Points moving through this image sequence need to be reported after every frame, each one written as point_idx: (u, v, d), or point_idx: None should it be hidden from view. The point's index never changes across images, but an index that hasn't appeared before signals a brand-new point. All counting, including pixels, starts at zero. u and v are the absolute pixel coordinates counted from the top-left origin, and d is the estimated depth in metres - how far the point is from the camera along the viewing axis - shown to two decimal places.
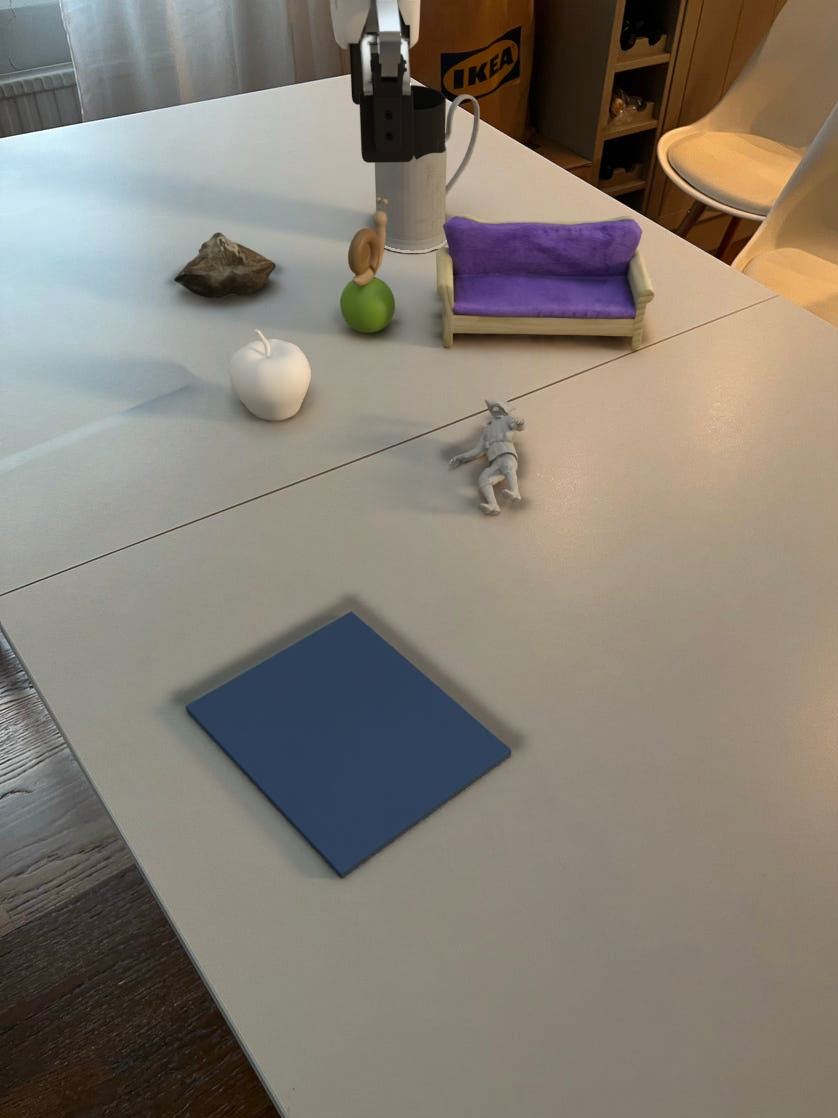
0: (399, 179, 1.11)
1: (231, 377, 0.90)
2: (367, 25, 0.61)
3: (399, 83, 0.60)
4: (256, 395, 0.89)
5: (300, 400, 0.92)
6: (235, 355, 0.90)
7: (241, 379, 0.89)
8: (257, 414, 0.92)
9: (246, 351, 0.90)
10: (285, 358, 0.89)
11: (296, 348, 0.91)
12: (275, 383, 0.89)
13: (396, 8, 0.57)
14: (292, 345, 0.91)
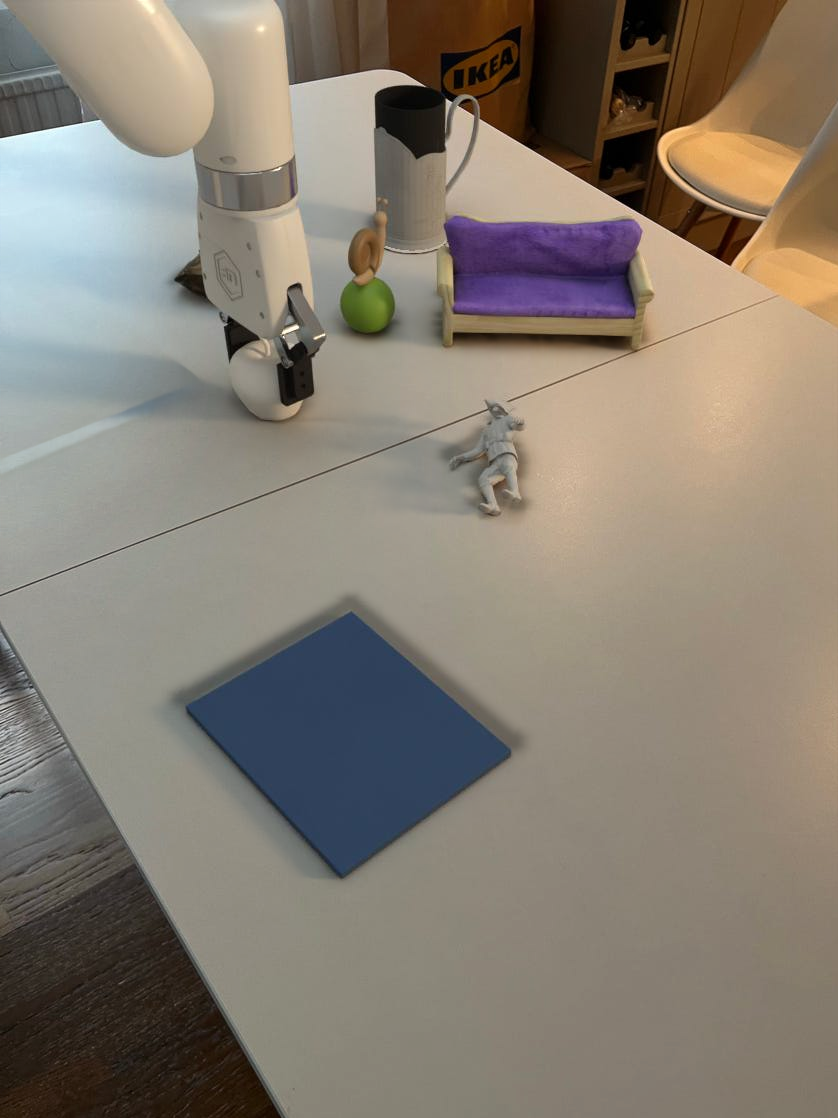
0: (399, 179, 1.11)
1: (231, 377, 0.90)
2: None
3: (313, 354, 0.86)
4: (256, 395, 0.89)
5: None
6: (235, 355, 0.90)
7: (241, 379, 0.89)
8: (257, 414, 0.92)
9: (246, 351, 0.90)
10: None
11: None
12: (275, 383, 0.89)
13: (315, 317, 0.83)
14: (292, 345, 0.91)
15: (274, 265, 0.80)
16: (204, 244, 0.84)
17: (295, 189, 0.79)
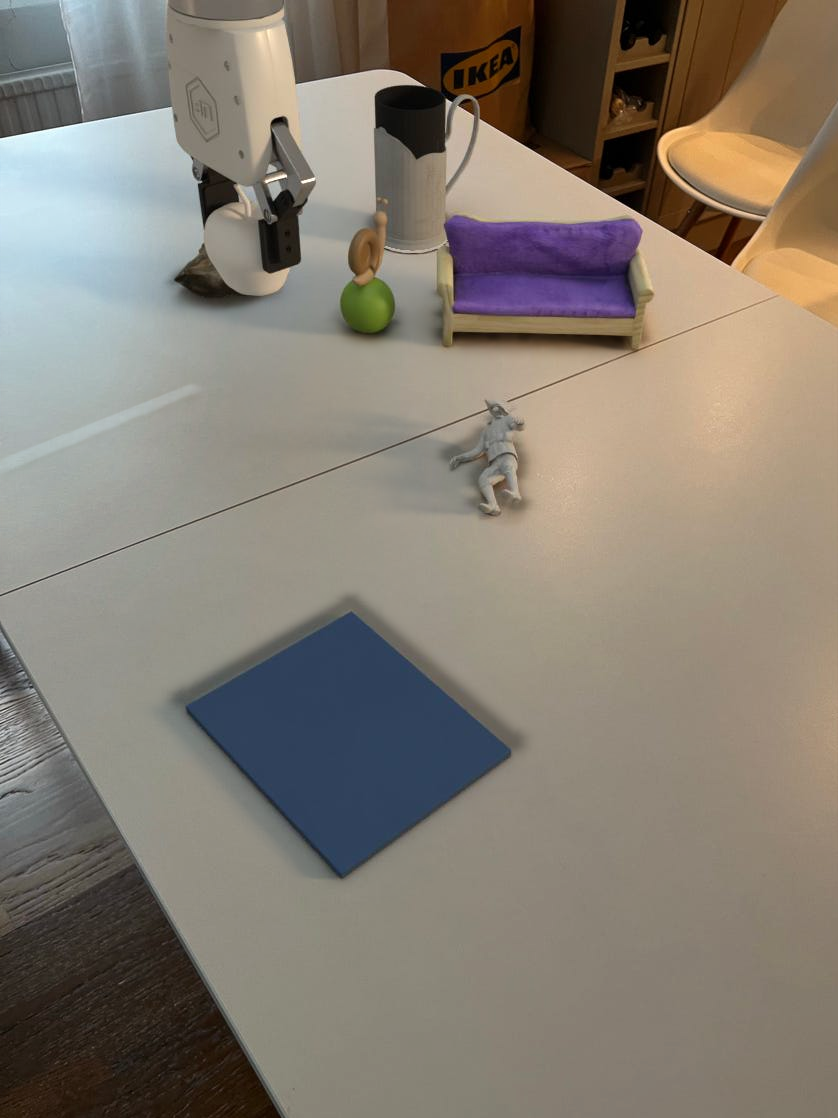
0: (399, 179, 1.11)
1: (206, 241, 0.79)
2: None
3: (300, 208, 0.75)
4: (235, 261, 0.78)
5: (285, 271, 0.81)
6: (211, 216, 0.79)
7: (218, 242, 0.78)
8: (236, 287, 0.81)
9: (224, 211, 0.79)
10: None
11: None
12: (257, 246, 0.78)
13: (303, 158, 0.71)
14: None
15: (256, 90, 0.68)
16: (175, 75, 0.73)
17: (280, 1, 0.68)
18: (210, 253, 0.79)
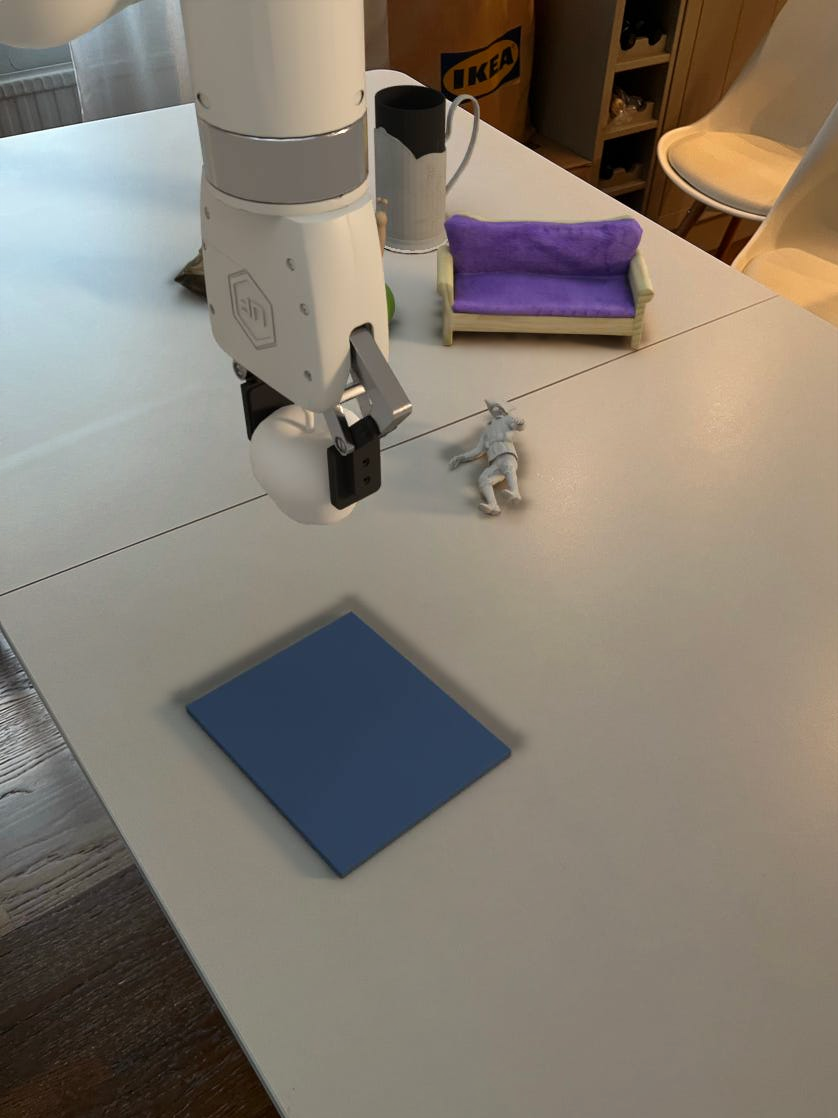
0: (399, 179, 1.11)
1: (254, 463, 0.58)
2: None
3: (386, 434, 0.54)
4: (294, 493, 0.57)
5: None
6: (260, 429, 0.58)
7: (270, 468, 0.57)
8: (293, 517, 0.60)
9: (278, 423, 0.58)
10: None
11: (353, 416, 0.59)
12: (324, 474, 0.57)
13: (394, 378, 0.51)
14: (347, 412, 0.59)
15: (331, 296, 0.48)
16: (212, 259, 0.52)
17: (366, 168, 0.47)
18: (259, 478, 0.58)
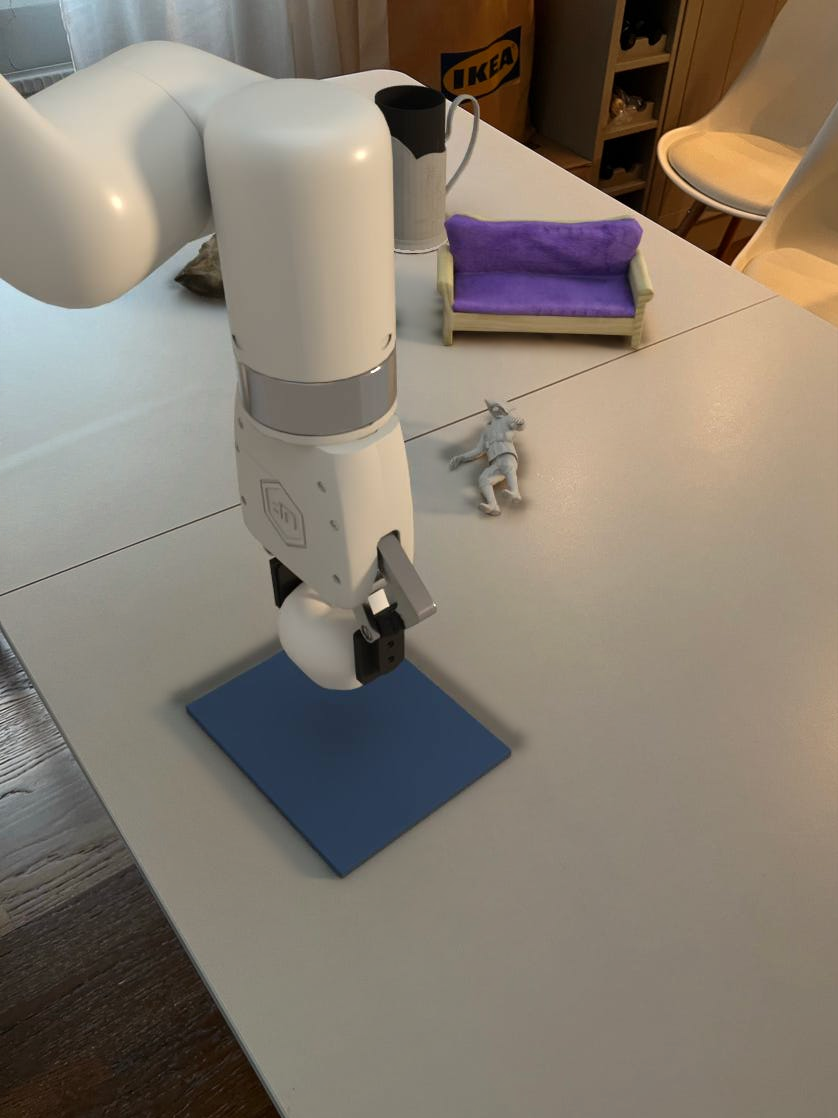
0: (399, 179, 1.11)
1: (282, 637, 0.60)
2: None
3: None
4: (321, 668, 0.59)
5: None
6: (288, 604, 0.60)
7: (298, 645, 0.59)
8: (319, 684, 0.62)
9: (305, 599, 0.60)
10: None
11: None
12: (350, 652, 0.59)
13: (419, 581, 0.53)
14: None
15: (360, 514, 0.50)
16: (244, 461, 0.54)
17: (394, 392, 0.49)
18: (287, 651, 0.60)
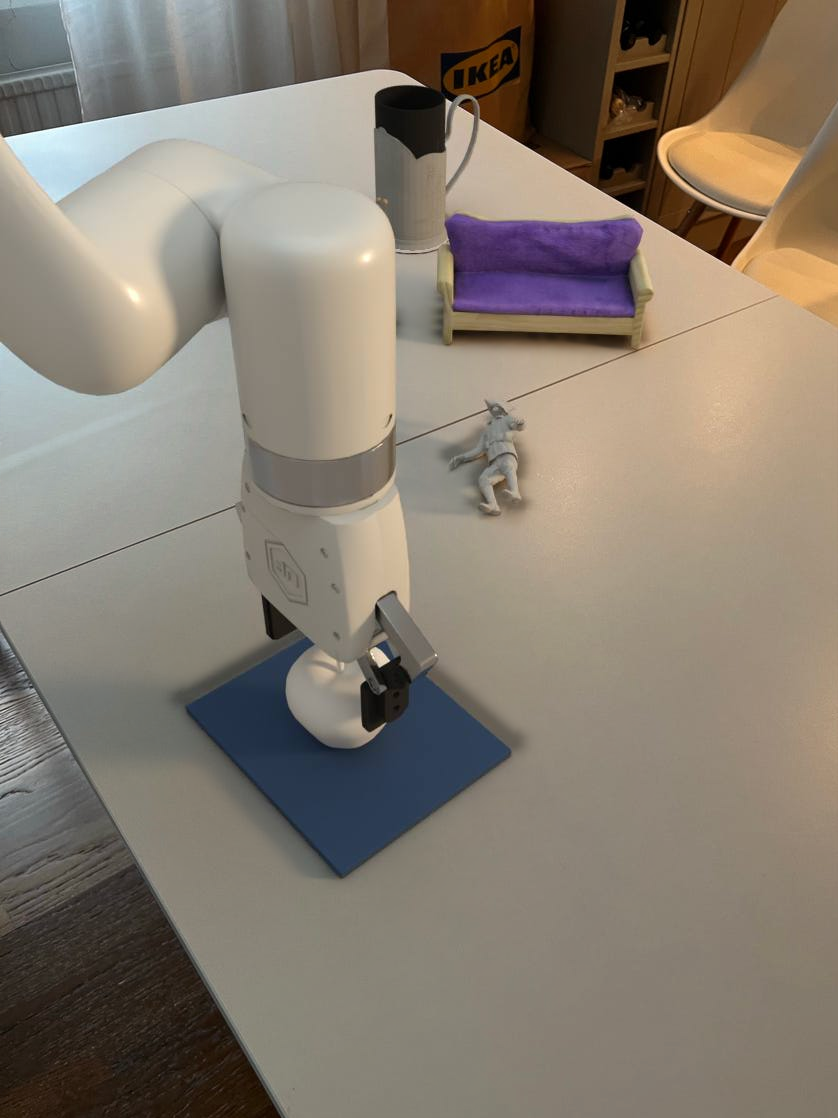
0: (399, 179, 1.11)
1: (289, 701, 0.64)
2: None
3: None
4: (326, 731, 0.64)
5: None
6: (295, 671, 0.64)
7: (305, 710, 0.63)
8: (324, 743, 0.66)
9: (312, 667, 0.64)
10: None
11: (379, 656, 0.65)
12: (353, 716, 0.63)
13: (419, 632, 0.55)
14: (374, 651, 0.65)
15: (360, 578, 0.53)
16: (250, 521, 0.57)
17: (394, 464, 0.52)
18: (294, 714, 0.65)
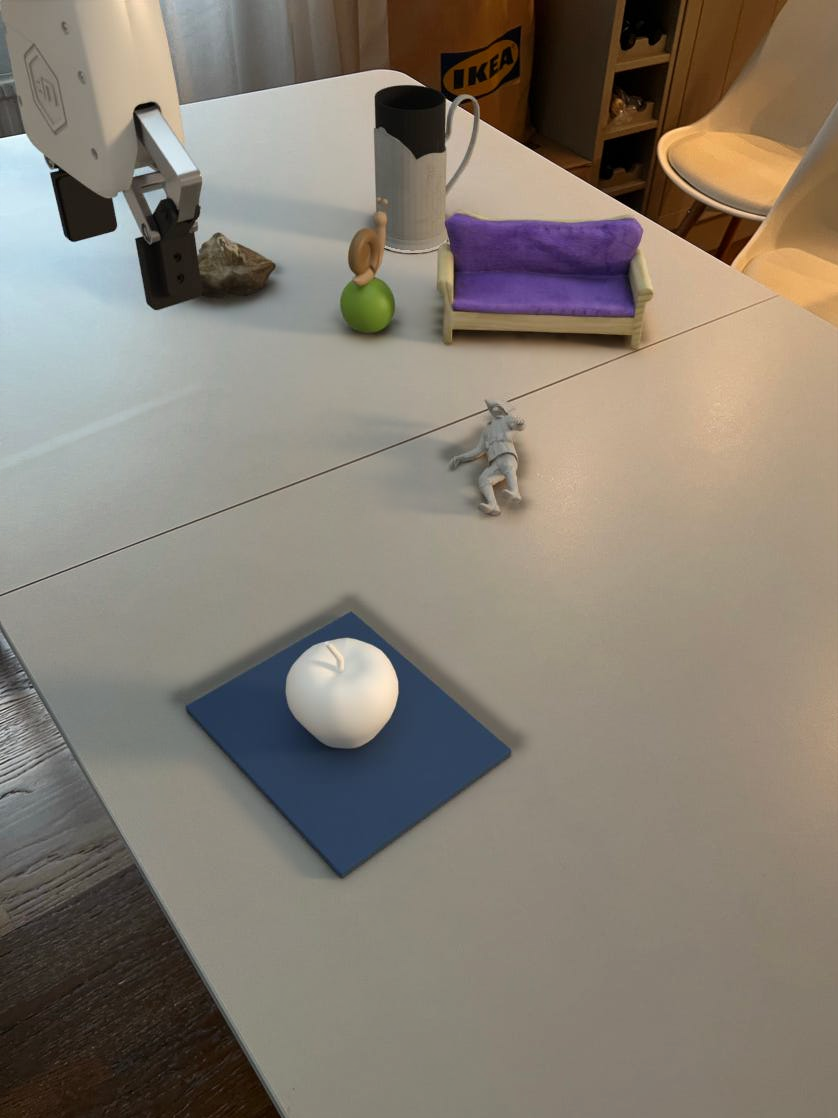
0: (399, 179, 1.11)
1: (289, 701, 0.64)
2: None
3: (192, 223, 0.54)
4: (326, 731, 0.64)
5: None
6: (295, 671, 0.64)
7: (305, 710, 0.63)
8: (324, 743, 0.66)
9: (312, 667, 0.64)
10: (366, 678, 0.64)
11: (379, 656, 0.65)
12: (353, 716, 0.63)
13: (182, 148, 0.51)
14: (374, 651, 0.65)
15: (107, 64, 0.48)
16: (11, 41, 0.53)
17: None
18: (294, 714, 0.65)
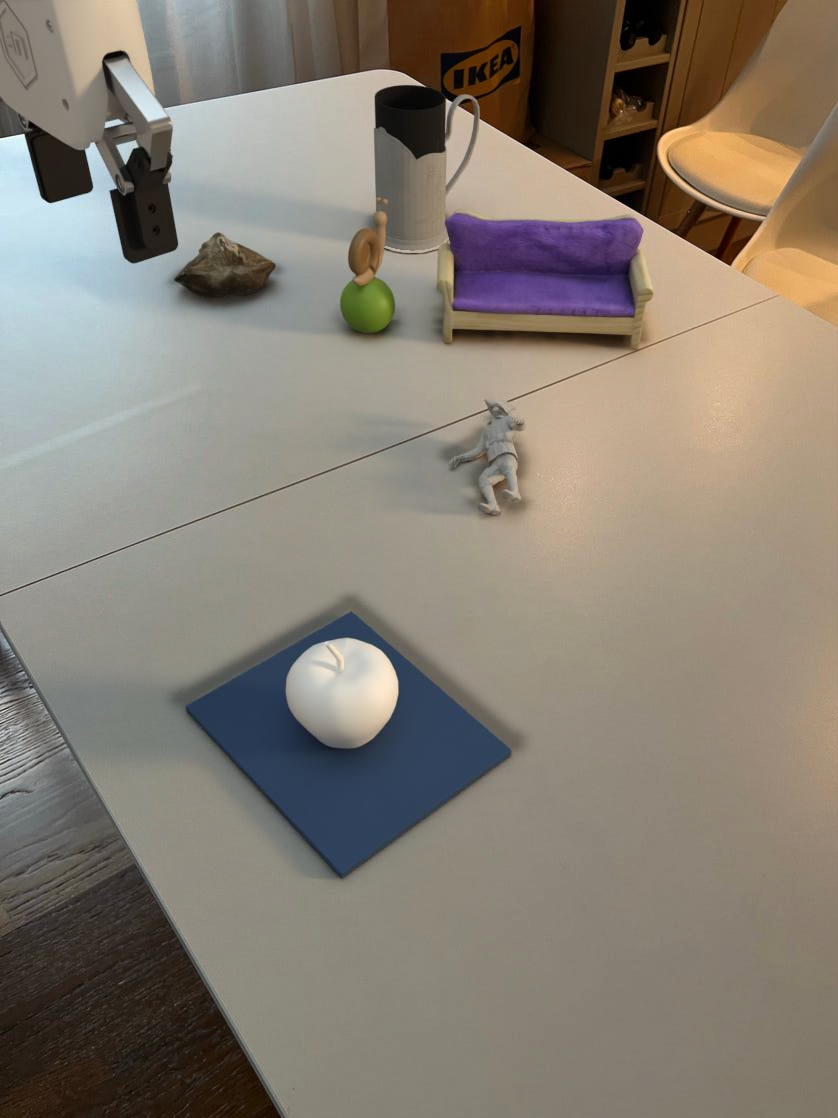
0: (399, 179, 1.11)
1: (289, 701, 0.64)
2: None
3: (164, 172, 0.54)
4: (326, 731, 0.64)
5: None
6: (295, 671, 0.64)
7: (305, 710, 0.63)
8: (324, 743, 0.66)
9: (312, 667, 0.64)
10: (366, 678, 0.64)
11: (379, 656, 0.65)
12: (353, 716, 0.63)
13: (151, 95, 0.51)
14: (374, 651, 0.65)
15: (75, 12, 0.49)
16: None
17: None
18: (294, 714, 0.65)
